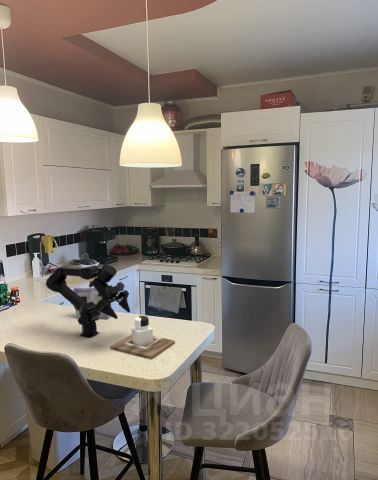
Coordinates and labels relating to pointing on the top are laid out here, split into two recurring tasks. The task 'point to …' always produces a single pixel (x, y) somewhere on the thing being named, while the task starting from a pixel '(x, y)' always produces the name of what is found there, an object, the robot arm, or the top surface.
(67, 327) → the top surface
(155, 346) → the walnut stand
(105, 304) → the robot arm
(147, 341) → the medicine bottle
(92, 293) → the cake pan box
